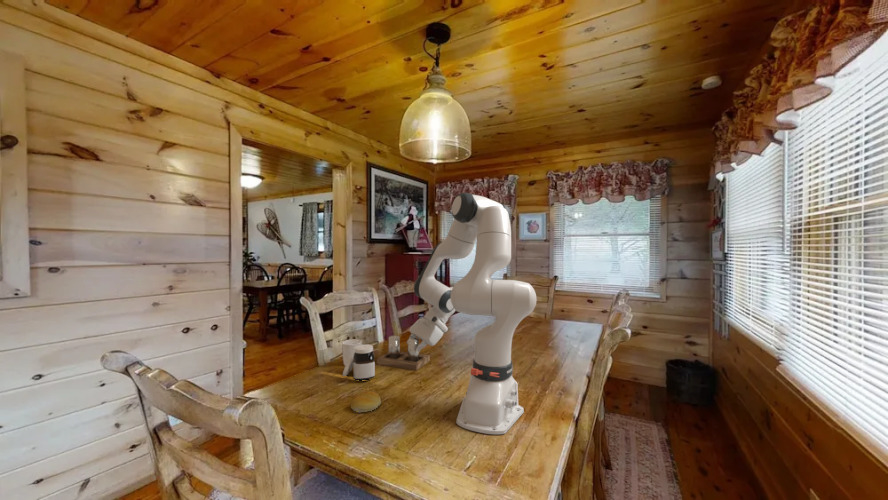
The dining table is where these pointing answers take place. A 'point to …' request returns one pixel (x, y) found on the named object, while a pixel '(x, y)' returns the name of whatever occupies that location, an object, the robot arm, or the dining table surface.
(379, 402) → the bread roll
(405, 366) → the wooden divided tray
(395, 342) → the cylinder
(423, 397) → the dining table surface
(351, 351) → the white cup
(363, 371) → the spread jar
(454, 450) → the dining table surface
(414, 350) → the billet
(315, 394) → the dining table surface
